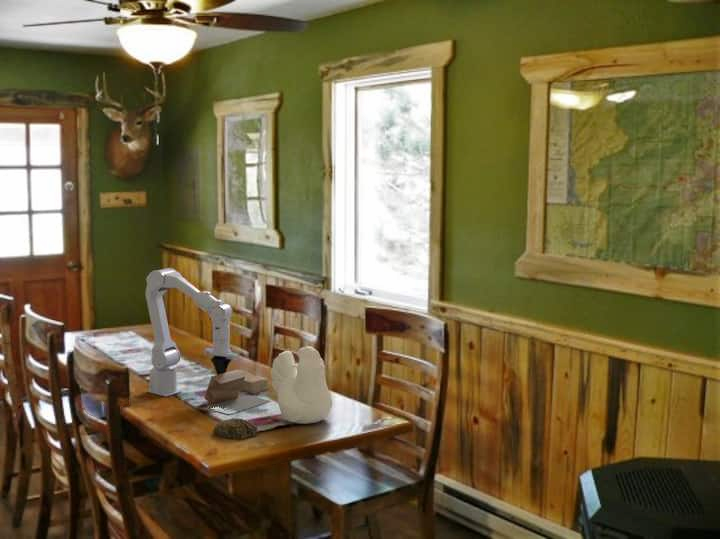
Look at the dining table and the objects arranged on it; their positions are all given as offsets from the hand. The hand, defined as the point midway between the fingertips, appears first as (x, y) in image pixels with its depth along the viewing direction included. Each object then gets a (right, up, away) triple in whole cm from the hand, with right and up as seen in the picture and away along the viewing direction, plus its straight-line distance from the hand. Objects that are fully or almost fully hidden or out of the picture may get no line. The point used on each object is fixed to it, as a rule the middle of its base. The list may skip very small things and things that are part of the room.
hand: (221, 377), depth 269 cm
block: (0, -7, +1) cm, 7 cm away
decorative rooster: (+28, -11, -15) cm, 34 cm away
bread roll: (+10, -13, -32) cm, 36 cm away
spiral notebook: (+7, -9, -4) cm, 12 cm away
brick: (+6, -6, +19) cm, 21 cm away
